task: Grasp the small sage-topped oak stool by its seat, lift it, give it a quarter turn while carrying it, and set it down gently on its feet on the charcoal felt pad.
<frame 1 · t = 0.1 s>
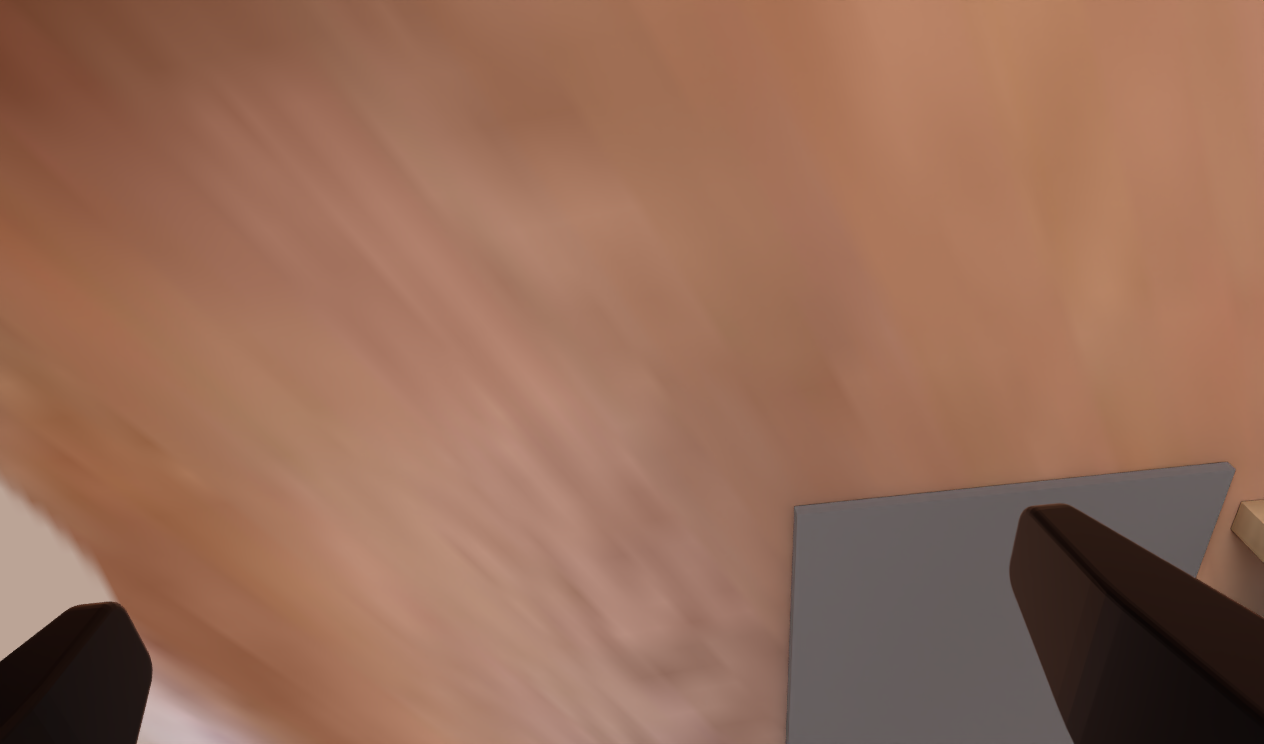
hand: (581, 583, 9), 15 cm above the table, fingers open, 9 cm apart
felt pad: (981, 635, 32), on the table
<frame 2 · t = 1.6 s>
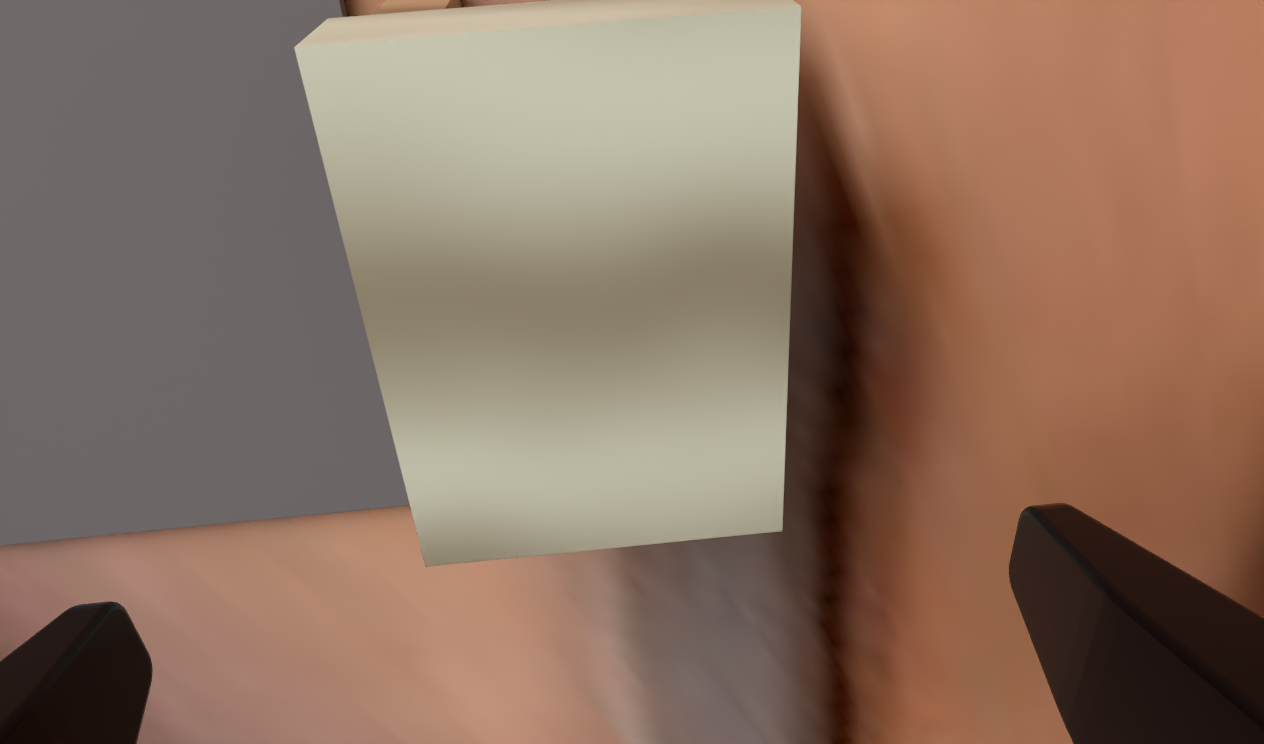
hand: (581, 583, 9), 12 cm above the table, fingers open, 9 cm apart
felt pad: (76, 274, 19), on the table
stool: (573, 187, 19), on the table
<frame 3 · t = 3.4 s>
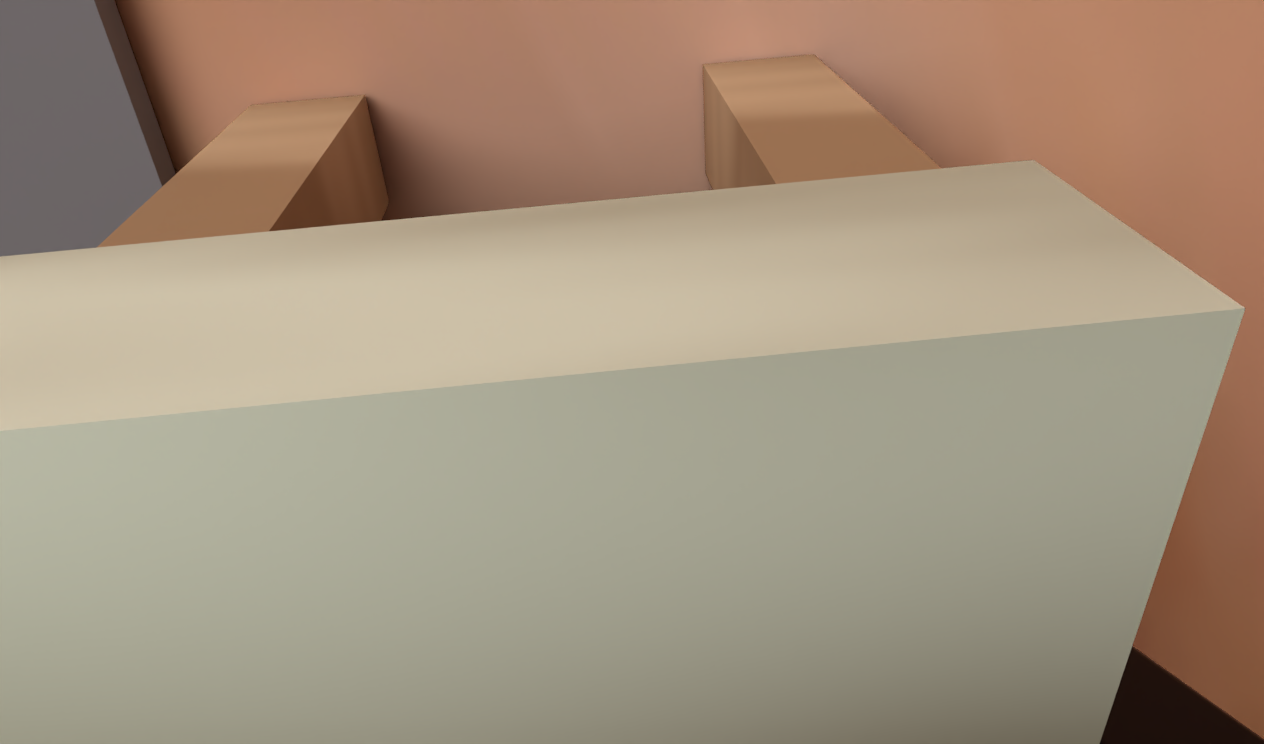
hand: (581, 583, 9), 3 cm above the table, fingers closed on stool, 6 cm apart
stool: (575, 405, 12), on the table, touching gripper
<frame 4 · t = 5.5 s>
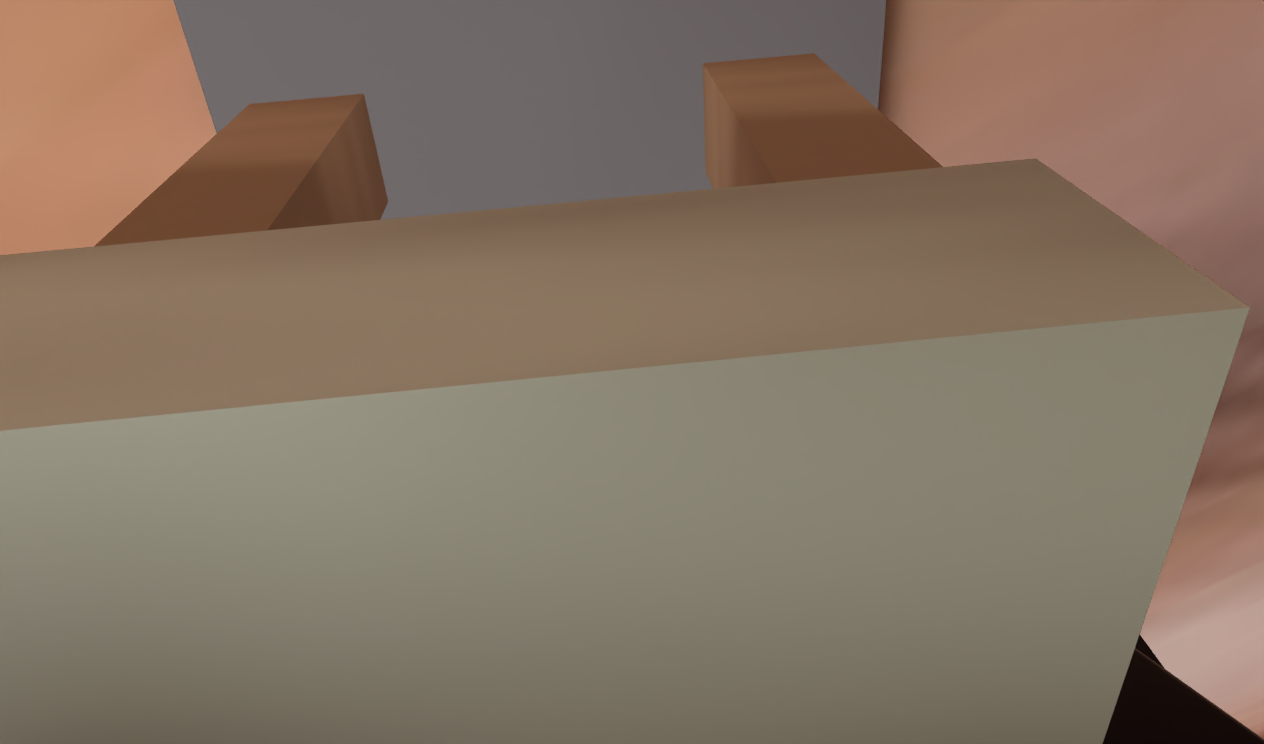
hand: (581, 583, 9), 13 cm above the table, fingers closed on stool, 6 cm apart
felt pad: (560, 165, 20), on the table
stool: (575, 405, 12), point 10 cm above the table, touching gripper
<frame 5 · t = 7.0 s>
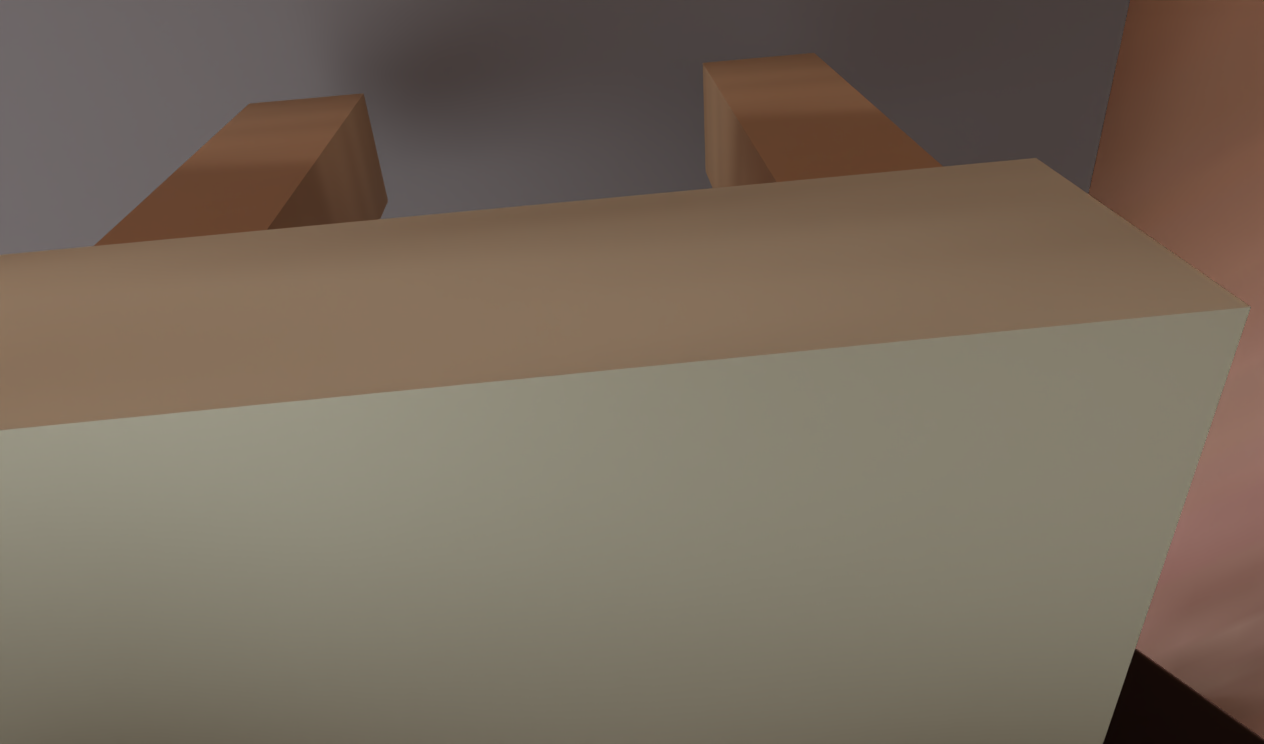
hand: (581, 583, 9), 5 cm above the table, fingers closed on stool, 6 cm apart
felt pad: (569, 352, 13), on the table
stool: (575, 405, 12), point 1 cm above the table, touching gripper
when the fingers open (4 cm above the table, at t = 8.0 s): stool stays where it is, resting on felt pad.
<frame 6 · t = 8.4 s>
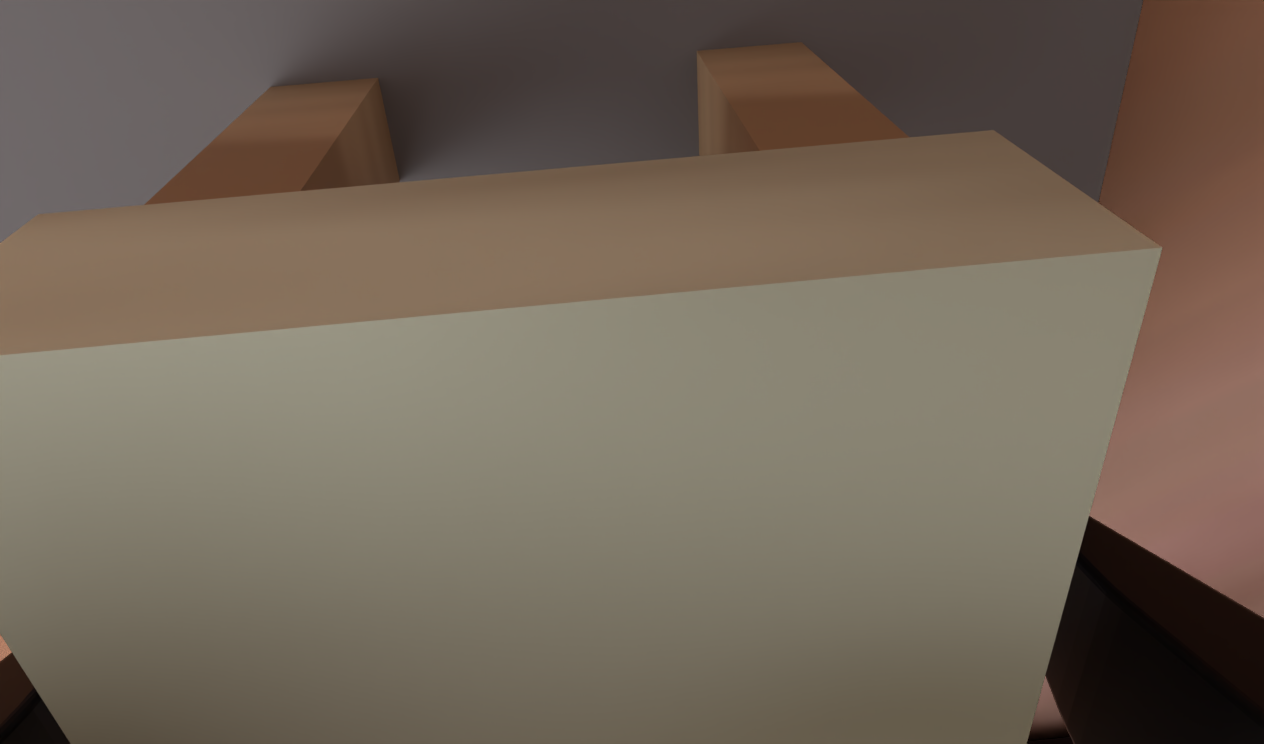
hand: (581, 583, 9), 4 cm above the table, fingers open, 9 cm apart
felt pad: (571, 362, 13), on the table
stool: (574, 378, 12), resting on felt pad
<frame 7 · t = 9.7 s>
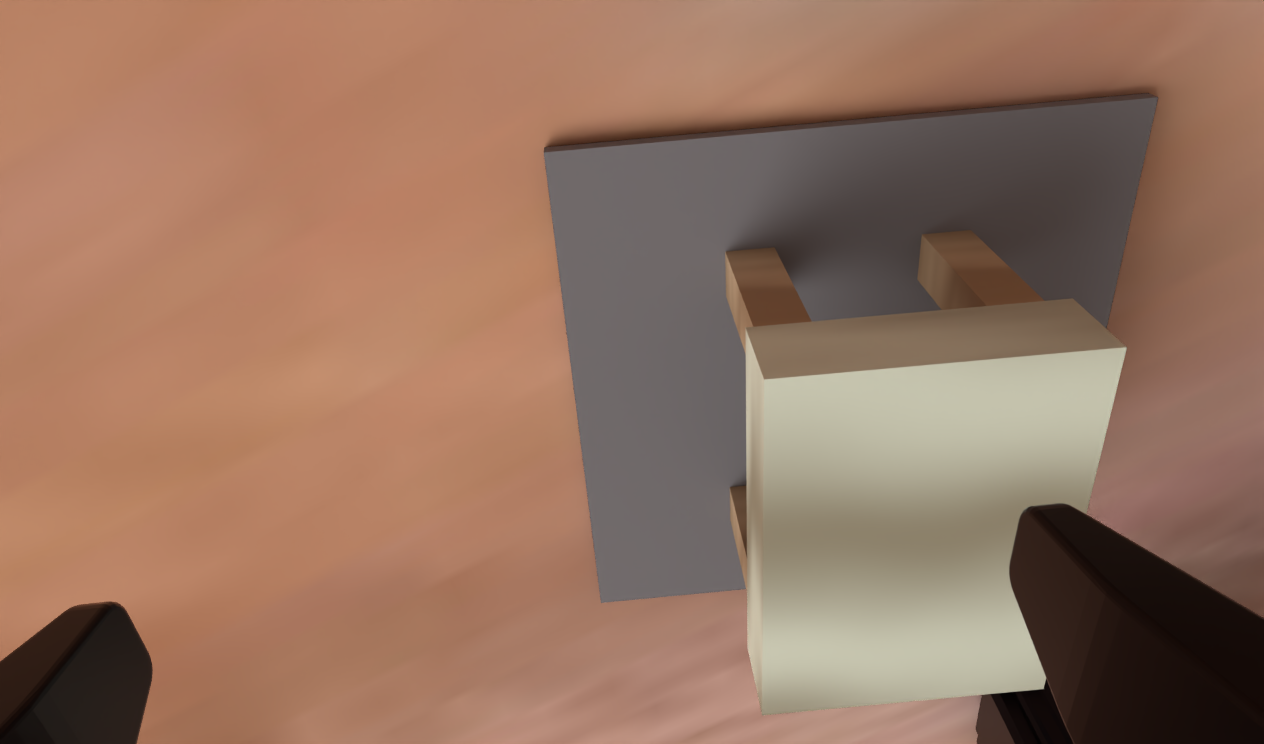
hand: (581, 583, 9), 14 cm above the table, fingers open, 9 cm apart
felt pad: (834, 379, 24), on the table
stool: (839, 387, 24), resting on felt pad
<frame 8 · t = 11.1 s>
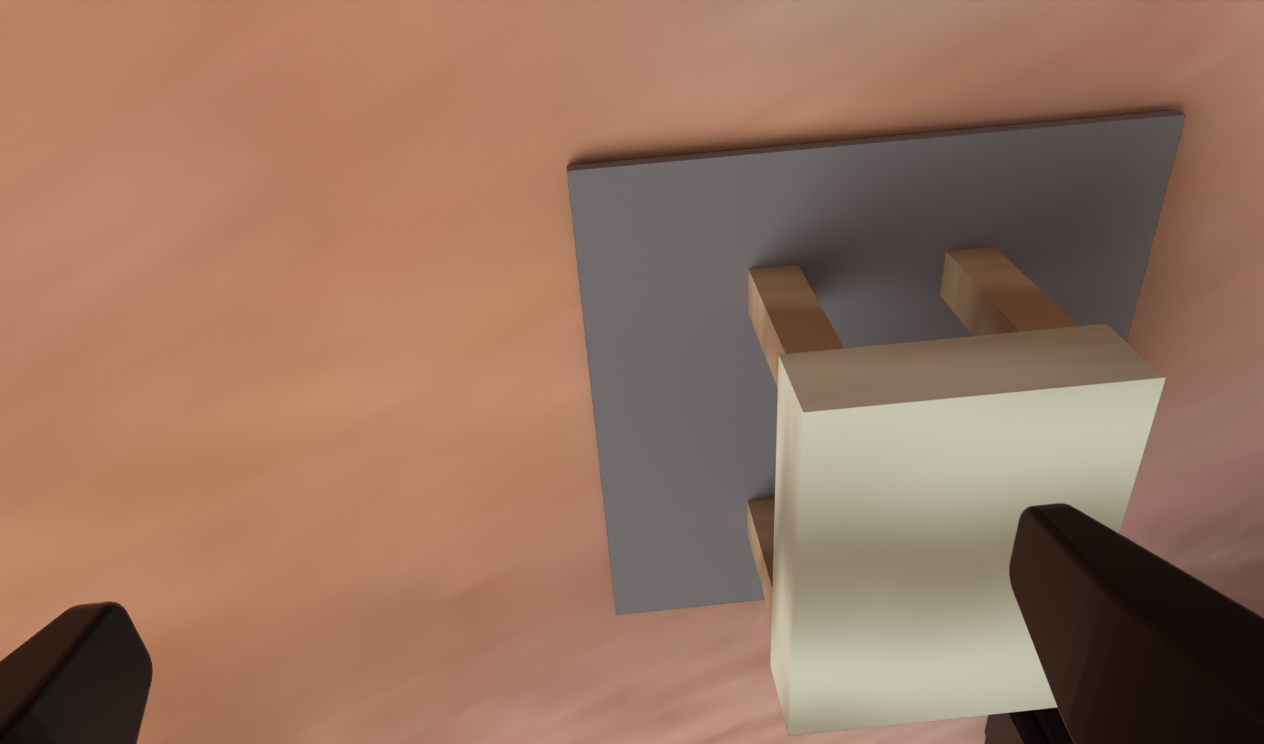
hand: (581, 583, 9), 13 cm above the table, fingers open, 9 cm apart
felt pad: (854, 393, 24), on the table
stool: (859, 402, 24), resting on felt pad
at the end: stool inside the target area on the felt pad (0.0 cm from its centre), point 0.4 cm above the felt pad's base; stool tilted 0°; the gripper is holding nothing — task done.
